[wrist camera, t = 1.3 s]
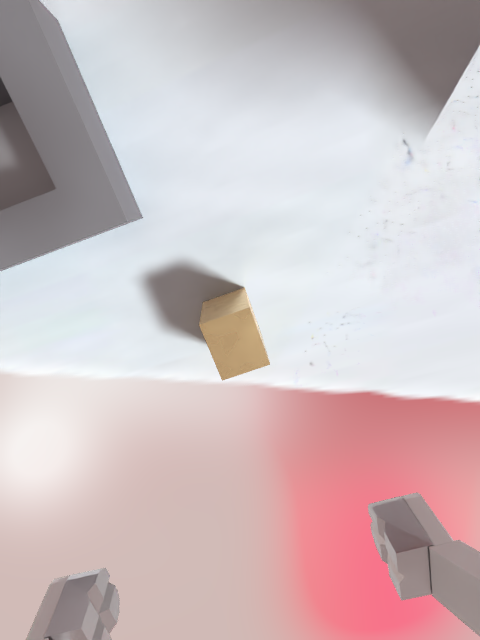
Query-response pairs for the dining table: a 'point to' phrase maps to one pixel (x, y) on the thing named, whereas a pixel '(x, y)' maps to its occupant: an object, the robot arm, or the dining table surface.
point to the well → (51, 144)
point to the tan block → (233, 334)
